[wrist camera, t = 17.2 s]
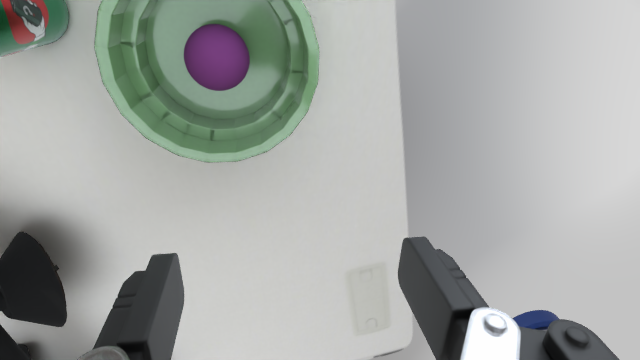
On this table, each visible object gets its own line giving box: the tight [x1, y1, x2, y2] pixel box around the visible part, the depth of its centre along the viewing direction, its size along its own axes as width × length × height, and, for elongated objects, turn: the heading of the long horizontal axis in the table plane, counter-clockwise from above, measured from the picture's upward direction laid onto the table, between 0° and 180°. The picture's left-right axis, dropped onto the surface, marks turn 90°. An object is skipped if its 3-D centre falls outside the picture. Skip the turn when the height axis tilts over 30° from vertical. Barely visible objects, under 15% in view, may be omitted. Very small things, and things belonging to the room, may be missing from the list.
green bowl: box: [94, 0, 319, 162], centre depth 28 cm, size 15×15×6 cm
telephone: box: [0, 232, 67, 360], centre depth 36 cm, size 15×13×30 cm
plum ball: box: [184, 24, 250, 91], centre depth 28 cm, size 5×5×5 cm
